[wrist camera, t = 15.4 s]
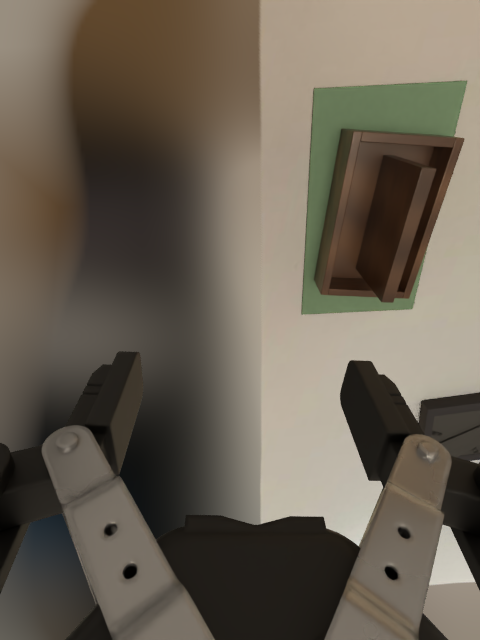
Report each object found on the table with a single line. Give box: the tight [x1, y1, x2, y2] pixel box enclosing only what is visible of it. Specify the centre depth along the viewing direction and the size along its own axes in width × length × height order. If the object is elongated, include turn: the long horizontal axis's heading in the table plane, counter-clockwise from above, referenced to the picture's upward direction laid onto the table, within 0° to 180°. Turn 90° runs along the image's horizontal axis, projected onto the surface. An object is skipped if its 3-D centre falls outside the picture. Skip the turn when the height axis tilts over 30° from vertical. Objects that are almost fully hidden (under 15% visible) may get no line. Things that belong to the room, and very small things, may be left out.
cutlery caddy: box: [314, 128, 464, 303], centre depth 35 cm, size 16×10×9 cm, turn 177°
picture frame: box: [419, 393, 480, 461], centre depth 55 cm, size 13×2×18 cm
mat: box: [302, 81, 467, 314], centre depth 39 cm, size 24×14×1 cm, turn 2°
